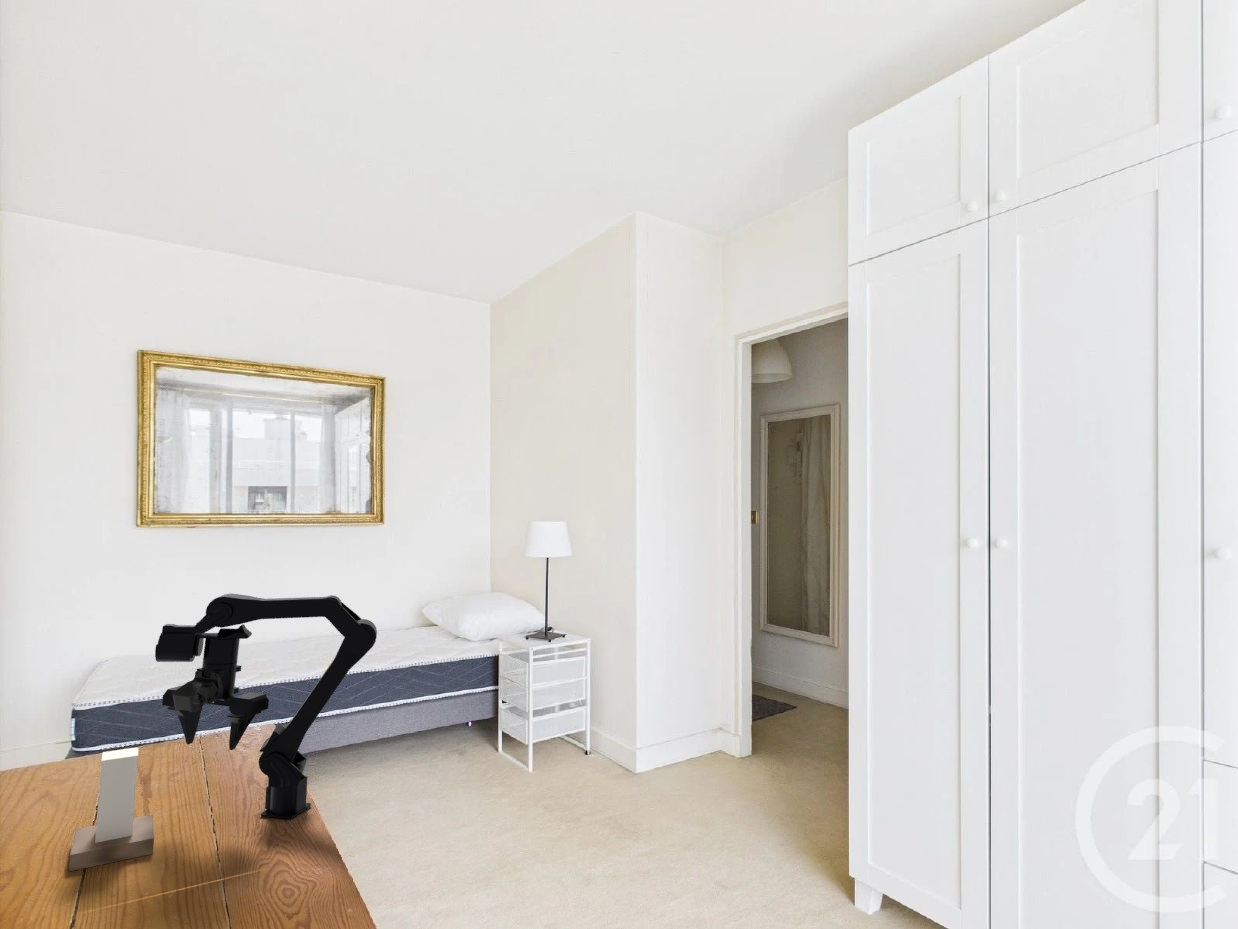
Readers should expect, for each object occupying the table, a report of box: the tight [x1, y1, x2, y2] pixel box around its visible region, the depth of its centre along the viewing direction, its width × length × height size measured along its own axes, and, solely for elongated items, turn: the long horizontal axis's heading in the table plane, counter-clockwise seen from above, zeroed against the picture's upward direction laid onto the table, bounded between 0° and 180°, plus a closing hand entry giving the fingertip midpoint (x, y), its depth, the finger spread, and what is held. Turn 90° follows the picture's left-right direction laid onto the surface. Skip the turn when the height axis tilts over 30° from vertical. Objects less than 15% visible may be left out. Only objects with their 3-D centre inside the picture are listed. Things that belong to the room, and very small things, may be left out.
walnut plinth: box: [68, 814, 155, 872], centre depth 117 cm, size 11×11×2 cm
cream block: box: [95, 747, 139, 843], centre depth 117 cm, size 5×5×13 cm
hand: (210, 746), depth 130 cm, fingers open, 9 cm apart
